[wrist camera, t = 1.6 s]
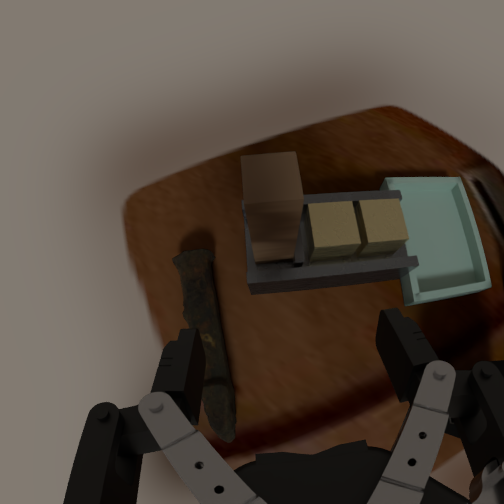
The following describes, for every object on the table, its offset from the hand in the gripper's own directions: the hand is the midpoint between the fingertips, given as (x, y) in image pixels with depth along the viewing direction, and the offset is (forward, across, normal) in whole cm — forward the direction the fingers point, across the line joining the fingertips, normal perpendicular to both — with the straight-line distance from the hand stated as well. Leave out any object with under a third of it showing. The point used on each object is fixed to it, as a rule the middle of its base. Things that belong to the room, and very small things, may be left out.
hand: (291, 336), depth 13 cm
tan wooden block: (+17, 0, +4) cm, 17 cm away
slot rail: (+19, -6, +6) cm, 21 cm away
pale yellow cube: (+17, -5, +4) cm, 18 cm away
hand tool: (+13, +6, +12) cm, 19 cm away
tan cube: (+17, -10, +4) cm, 20 cm away
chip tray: (+19, -19, +6) cm, 27 cm away
